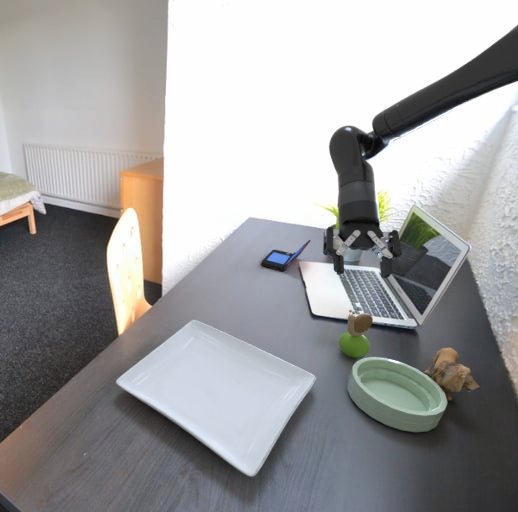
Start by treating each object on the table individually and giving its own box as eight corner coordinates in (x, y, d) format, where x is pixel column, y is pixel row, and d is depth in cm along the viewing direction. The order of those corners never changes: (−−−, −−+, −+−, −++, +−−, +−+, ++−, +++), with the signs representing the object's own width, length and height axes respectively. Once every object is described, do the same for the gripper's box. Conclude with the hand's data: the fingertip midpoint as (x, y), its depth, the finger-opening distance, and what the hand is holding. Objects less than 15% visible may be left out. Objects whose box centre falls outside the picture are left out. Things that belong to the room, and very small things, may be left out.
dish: (414, 380, 71) (422, 362, 69) (455, 441, 59) (466, 421, 57) (337, 370, 74) (342, 352, 72) (361, 426, 62) (368, 407, 60)
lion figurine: (465, 419, 63) (487, 380, 59) (426, 407, 65) (445, 369, 61) (447, 366, 74) (464, 330, 70) (414, 357, 77) (429, 322, 73)
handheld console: (272, 251, 124) (276, 231, 121) (306, 260, 118) (311, 239, 115) (259, 265, 116) (262, 244, 112) (295, 275, 109) (300, 252, 106)
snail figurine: (326, 350, 80) (339, 303, 74) (349, 344, 81) (364, 298, 76) (347, 367, 75) (363, 318, 70) (372, 360, 76) (389, 312, 71)
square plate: (250, 495, 53) (254, 477, 51) (113, 395, 70) (112, 379, 68) (314, 388, 70) (319, 373, 68) (192, 329, 87) (193, 316, 85)
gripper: (328, 197, 80) (332, 267, 75) (403, 199, 77) (411, 273, 72) (317, 212, 87) (320, 277, 82) (385, 215, 84) (392, 283, 79)
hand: (363, 275), depth 77 cm, fingers open, 8 cm apart
